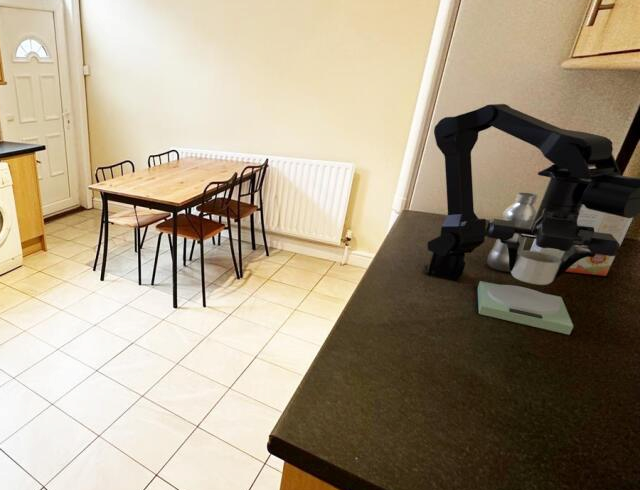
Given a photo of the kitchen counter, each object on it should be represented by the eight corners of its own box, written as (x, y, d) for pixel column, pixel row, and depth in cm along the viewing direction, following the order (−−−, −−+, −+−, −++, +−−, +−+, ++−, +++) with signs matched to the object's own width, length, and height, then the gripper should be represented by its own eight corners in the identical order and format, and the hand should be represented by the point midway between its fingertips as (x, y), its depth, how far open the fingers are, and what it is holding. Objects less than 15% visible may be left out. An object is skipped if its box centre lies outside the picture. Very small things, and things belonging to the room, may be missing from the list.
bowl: (511, 280, 87) (519, 258, 85) (508, 268, 91) (516, 248, 89) (554, 288, 83) (564, 266, 81) (549, 276, 88) (558, 254, 86)
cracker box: (593, 267, 107) (631, 188, 98) (606, 277, 102) (646, 195, 93) (524, 259, 112) (553, 184, 104) (533, 268, 107) (564, 190, 99)
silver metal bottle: (489, 272, 106) (517, 197, 98) (480, 262, 112) (505, 190, 104) (521, 276, 104) (552, 199, 96) (510, 265, 109) (538, 191, 101)
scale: (478, 314, 89) (482, 302, 88) (477, 288, 99) (481, 277, 98) (569, 335, 81) (575, 322, 80) (558, 304, 91) (562, 293, 90)
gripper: (501, 205, 80) (476, 277, 86) (646, 222, 70) (605, 302, 76) (498, 192, 88) (475, 258, 94) (627, 205, 78) (591, 279, 84)
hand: (532, 273), depth 87 cm, fingers closed on bowl, 6 cm apart
